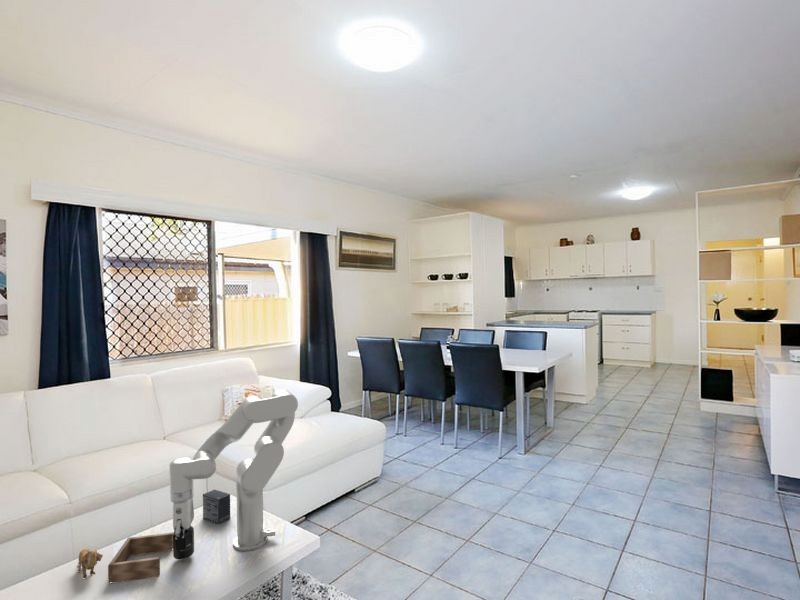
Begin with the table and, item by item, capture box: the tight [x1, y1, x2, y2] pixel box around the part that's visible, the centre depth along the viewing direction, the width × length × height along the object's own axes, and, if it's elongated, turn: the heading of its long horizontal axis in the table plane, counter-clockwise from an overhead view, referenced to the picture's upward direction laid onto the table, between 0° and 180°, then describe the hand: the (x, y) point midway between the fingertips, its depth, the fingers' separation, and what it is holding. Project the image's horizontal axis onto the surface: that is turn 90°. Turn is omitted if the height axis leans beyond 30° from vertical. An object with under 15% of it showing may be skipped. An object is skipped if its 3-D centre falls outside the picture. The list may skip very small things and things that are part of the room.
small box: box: [202, 489, 231, 525], centre depth 189 cm, size 11×6×10 cm, turn 60°
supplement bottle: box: [172, 524, 195, 561], centre depth 159 cm, size 7×7×12 cm
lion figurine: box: [77, 548, 104, 579], centre depth 153 cm, size 15×5×9 cm, turn 56°
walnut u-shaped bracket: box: [107, 531, 174, 584], centre depth 156 cm, size 15×17×6 cm
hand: (183, 542), depth 159 cm, fingers closed on supplement bottle, 6 cm apart
